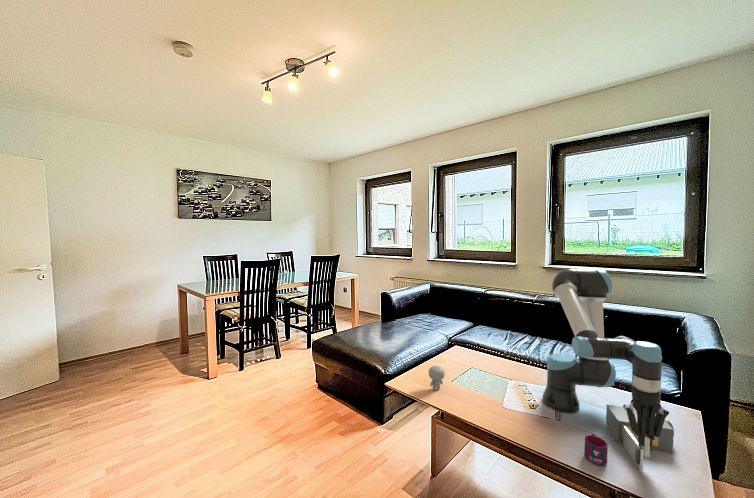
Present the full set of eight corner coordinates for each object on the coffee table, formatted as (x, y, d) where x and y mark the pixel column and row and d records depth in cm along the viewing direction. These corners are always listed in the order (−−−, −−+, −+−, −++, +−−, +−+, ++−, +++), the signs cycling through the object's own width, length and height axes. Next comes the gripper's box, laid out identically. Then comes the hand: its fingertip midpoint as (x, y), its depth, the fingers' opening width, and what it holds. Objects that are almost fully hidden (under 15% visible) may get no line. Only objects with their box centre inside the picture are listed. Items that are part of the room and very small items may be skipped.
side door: (620, 443, 119) (620, 424, 118) (624, 444, 118) (625, 425, 118) (638, 470, 105) (639, 448, 105) (643, 471, 105) (644, 449, 105)
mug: (584, 461, 111) (584, 442, 110) (584, 445, 119) (585, 428, 118) (607, 469, 107) (608, 450, 106) (606, 452, 115) (606, 434, 115)
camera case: (617, 443, 119) (618, 418, 119) (606, 424, 131) (606, 402, 130) (681, 455, 113) (682, 428, 113) (663, 434, 125) (664, 410, 124)
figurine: (439, 385, 166) (439, 363, 166) (446, 391, 159) (447, 369, 158) (426, 387, 164) (426, 365, 163) (433, 394, 156) (433, 371, 156)
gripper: (631, 392, 104) (630, 460, 105) (675, 395, 101) (674, 464, 102) (618, 381, 111) (617, 445, 112) (659, 384, 109) (658, 449, 110)
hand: (644, 454), depth 107 cm, fingers closed
